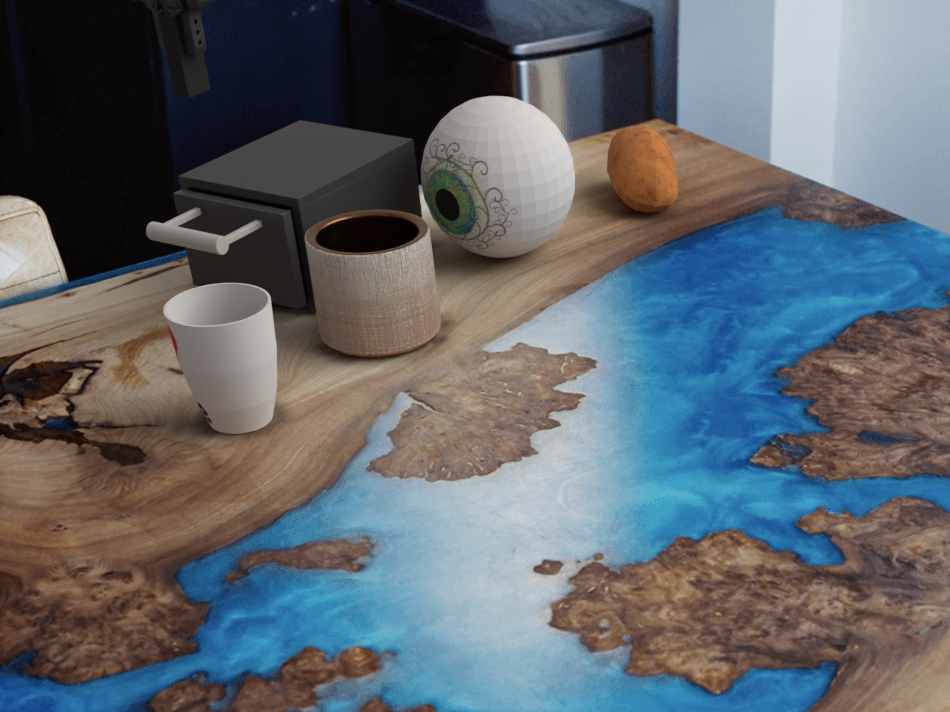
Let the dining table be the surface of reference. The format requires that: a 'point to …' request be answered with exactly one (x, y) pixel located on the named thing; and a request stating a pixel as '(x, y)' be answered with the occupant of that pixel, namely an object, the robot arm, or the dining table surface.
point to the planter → (373, 282)
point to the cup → (227, 353)
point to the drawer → (237, 243)
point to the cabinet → (316, 176)
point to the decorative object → (498, 176)
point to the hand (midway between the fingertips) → (193, 92)
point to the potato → (642, 169)
